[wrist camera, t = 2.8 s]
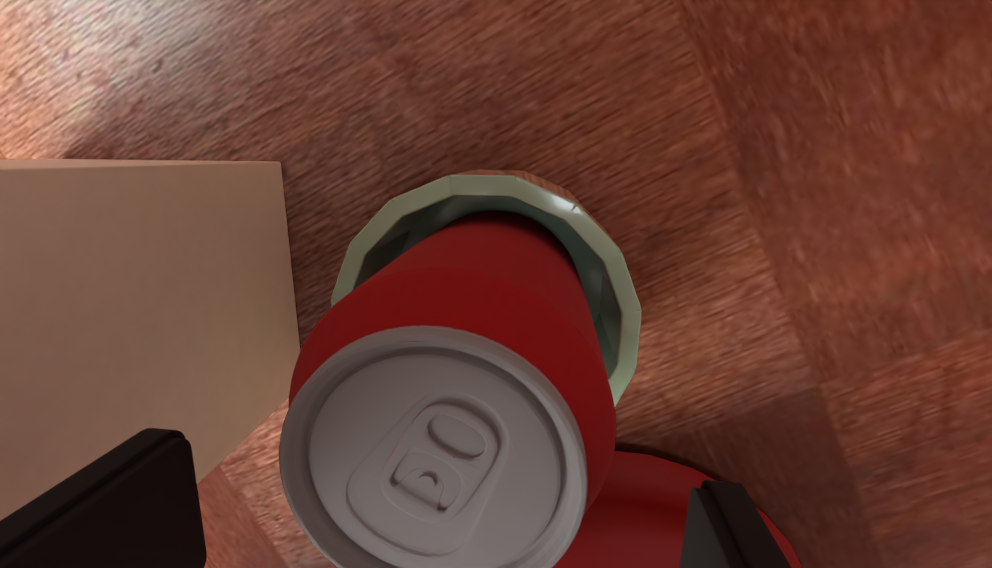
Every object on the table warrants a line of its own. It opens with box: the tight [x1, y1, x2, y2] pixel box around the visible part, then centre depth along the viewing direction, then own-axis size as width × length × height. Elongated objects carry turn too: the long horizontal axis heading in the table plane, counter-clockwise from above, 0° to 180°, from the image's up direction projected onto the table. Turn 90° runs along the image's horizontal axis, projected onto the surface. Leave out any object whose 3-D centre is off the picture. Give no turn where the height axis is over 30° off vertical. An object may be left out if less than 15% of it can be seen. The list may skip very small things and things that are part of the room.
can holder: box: [331, 169, 642, 407], centre depth 17 cm, size 10×10×6 cm
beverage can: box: [279, 211, 616, 568], centre depth 14 cm, size 7×7×12 cm
